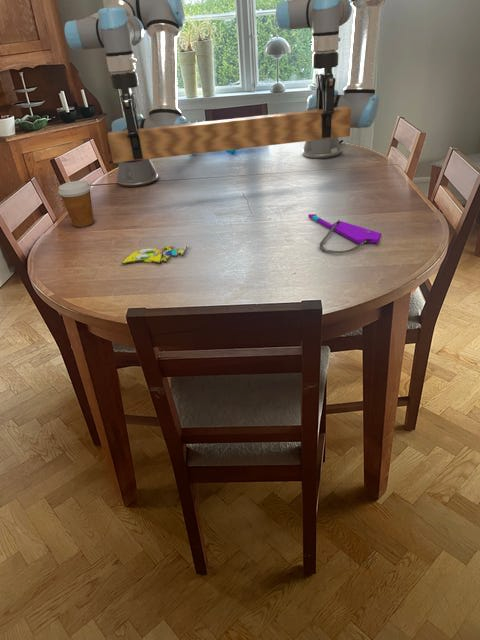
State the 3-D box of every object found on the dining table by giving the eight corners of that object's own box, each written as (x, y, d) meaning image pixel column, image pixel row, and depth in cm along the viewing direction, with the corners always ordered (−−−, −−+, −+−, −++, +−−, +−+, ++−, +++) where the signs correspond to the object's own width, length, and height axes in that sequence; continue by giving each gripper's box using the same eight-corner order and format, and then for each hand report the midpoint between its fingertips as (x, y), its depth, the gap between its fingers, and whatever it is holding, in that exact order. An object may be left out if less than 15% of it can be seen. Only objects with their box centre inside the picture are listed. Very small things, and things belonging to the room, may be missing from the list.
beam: (113, 163, 146) (107, 134, 142) (114, 159, 150) (108, 132, 146) (349, 136, 152) (351, 108, 147) (345, 133, 156) (346, 106, 151)
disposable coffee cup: (61, 227, 148) (50, 189, 141) (80, 216, 155) (71, 179, 149) (86, 230, 145) (76, 191, 138) (105, 218, 152) (96, 180, 145)
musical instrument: (364, 263, 114) (392, 222, 127) (364, 255, 113) (391, 215, 125) (276, 252, 127) (309, 216, 139) (275, 245, 126) (308, 210, 138)
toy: (178, 260, 119) (121, 261, 122) (179, 264, 120) (122, 264, 122) (187, 243, 128) (133, 244, 130) (187, 246, 128) (134, 247, 131)
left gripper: (134, 73, 129) (150, 162, 141) (137, 68, 143) (151, 148, 156) (106, 76, 128) (124, 165, 141) (112, 70, 143) (128, 151, 155)
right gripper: (347, 52, 133) (344, 140, 146) (329, 49, 148) (327, 128, 160) (320, 55, 133) (320, 142, 145) (305, 51, 147) (305, 131, 160)
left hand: (138, 156), depth 148 cm, fingers closed on beam, 4 cm apart
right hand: (324, 135), depth 153 cm, fingers closed on beam, 4 cm apart
